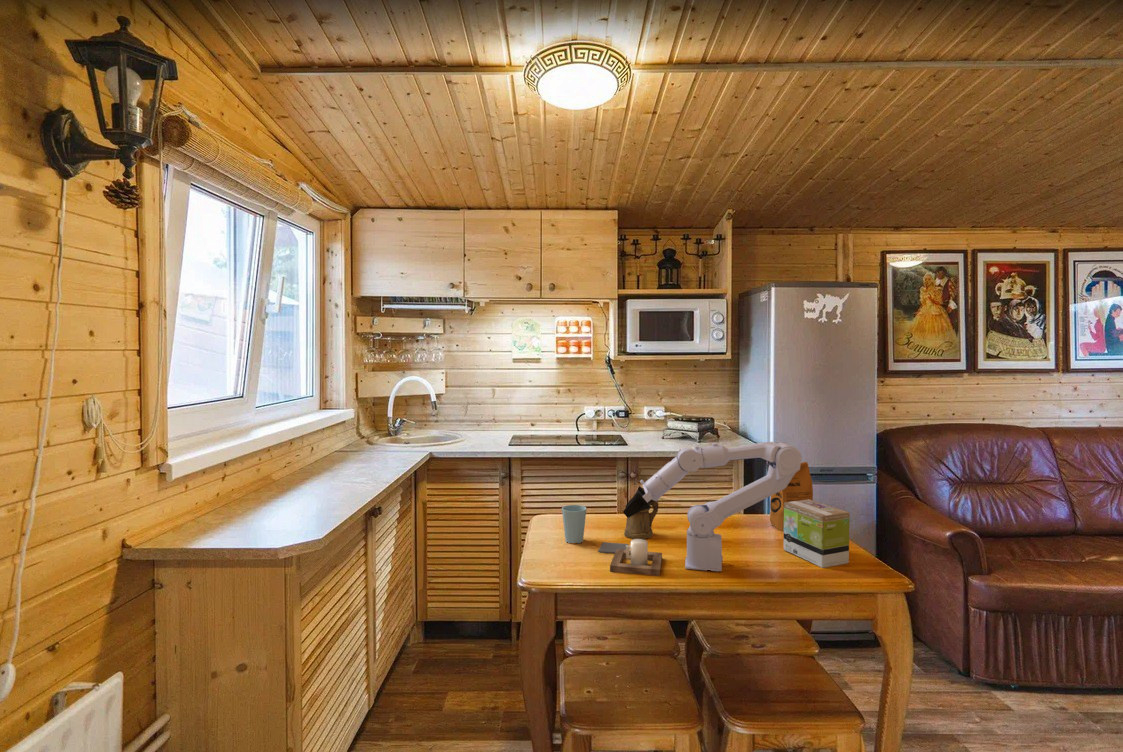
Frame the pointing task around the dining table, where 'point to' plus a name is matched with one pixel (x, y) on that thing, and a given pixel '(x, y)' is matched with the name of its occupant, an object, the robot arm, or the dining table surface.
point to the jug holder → (636, 569)
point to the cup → (574, 523)
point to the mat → (611, 547)
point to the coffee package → (791, 495)
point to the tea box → (816, 532)
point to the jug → (637, 552)
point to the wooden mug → (641, 523)
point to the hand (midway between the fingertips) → (626, 512)
